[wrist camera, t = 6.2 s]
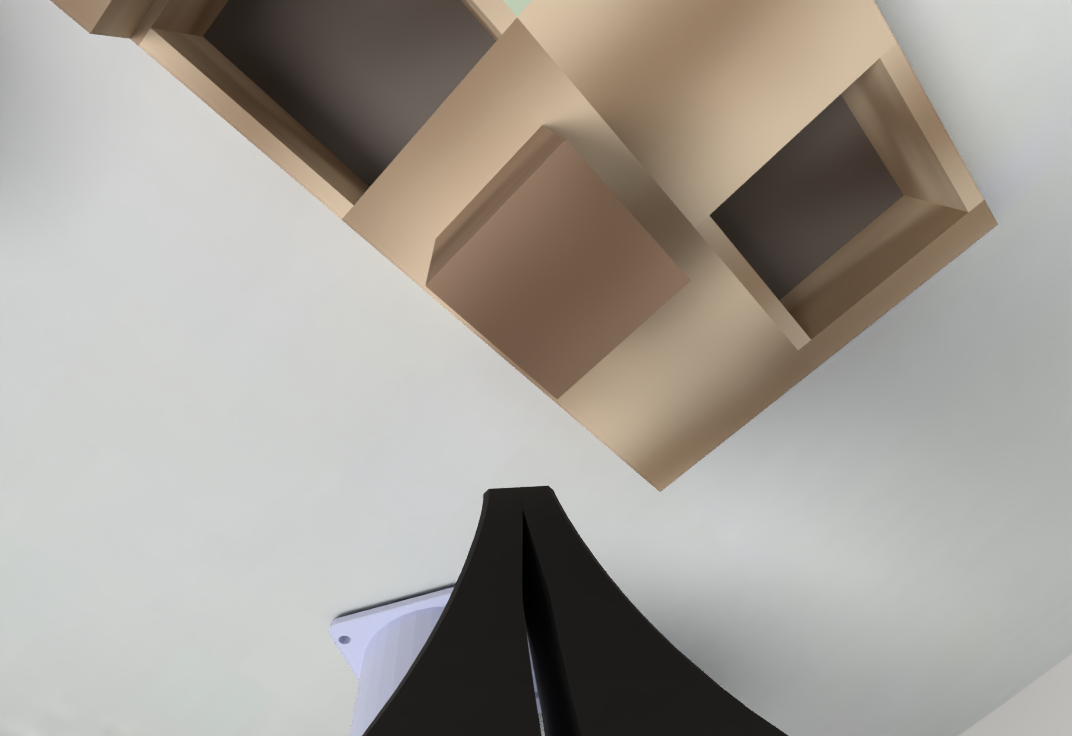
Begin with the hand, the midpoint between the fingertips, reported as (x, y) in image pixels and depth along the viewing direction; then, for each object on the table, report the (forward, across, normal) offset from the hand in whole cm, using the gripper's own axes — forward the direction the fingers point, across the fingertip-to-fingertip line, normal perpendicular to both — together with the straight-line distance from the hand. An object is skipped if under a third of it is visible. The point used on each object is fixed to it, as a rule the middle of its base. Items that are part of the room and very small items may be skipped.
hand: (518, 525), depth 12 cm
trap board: (+9, -3, -7) cm, 12 cm away
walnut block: (+6, -1, -4) cm, 8 cm away
